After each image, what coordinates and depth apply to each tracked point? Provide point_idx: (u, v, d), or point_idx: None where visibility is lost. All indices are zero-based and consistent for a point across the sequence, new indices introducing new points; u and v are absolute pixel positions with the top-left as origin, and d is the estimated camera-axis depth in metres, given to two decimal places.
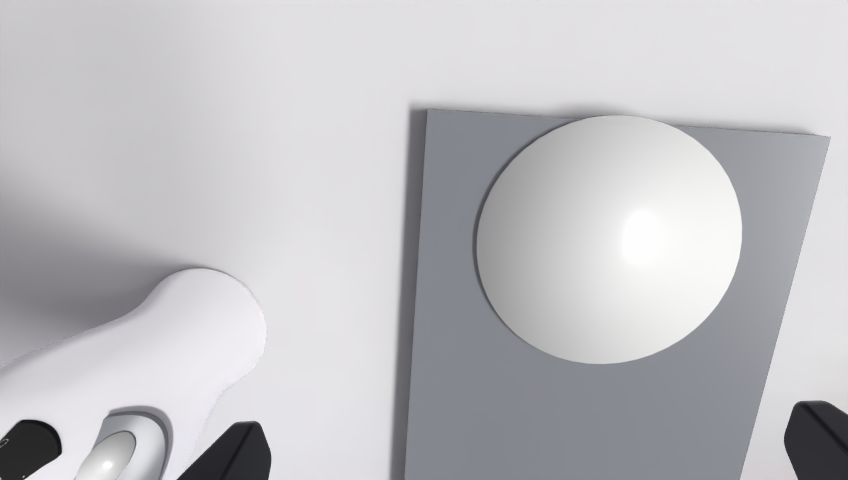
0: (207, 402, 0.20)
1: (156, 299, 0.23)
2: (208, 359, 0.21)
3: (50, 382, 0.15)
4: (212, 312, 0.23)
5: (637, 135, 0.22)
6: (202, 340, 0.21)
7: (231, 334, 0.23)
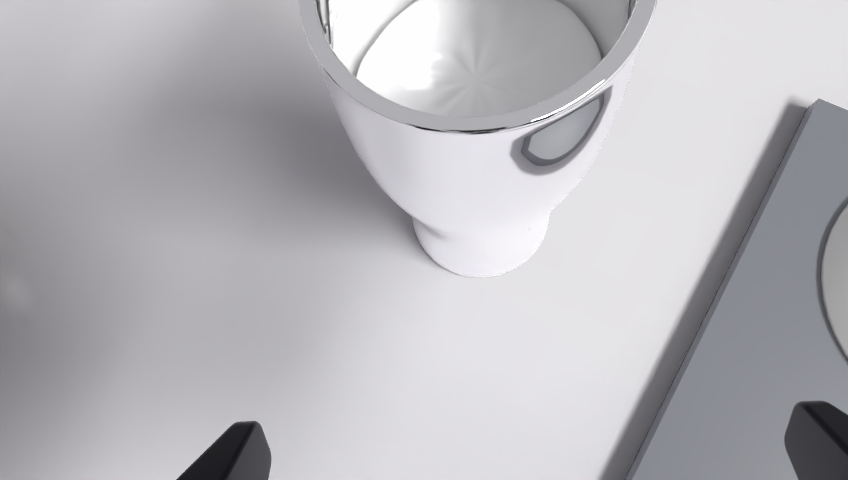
0: None
1: None
2: None
3: None
4: None
5: None
6: None
7: None
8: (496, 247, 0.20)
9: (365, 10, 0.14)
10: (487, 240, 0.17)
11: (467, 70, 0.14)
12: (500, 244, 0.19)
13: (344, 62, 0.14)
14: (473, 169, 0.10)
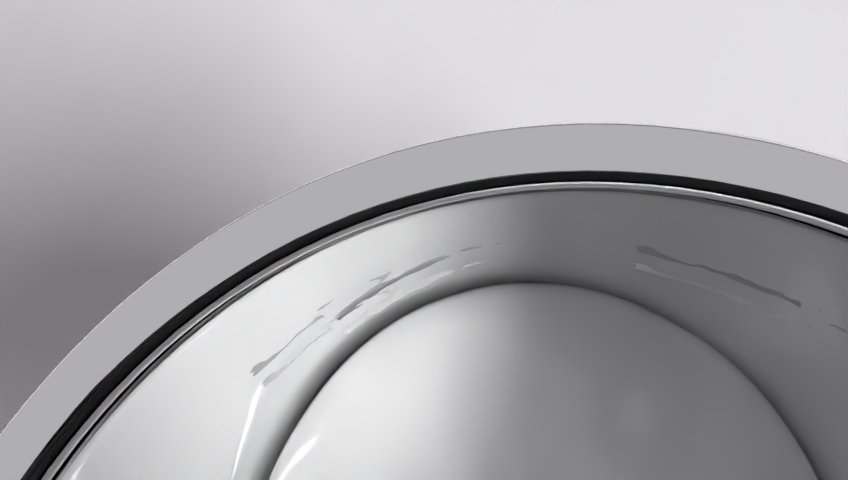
0: None
1: None
2: None
3: None
4: None
5: None
6: None
7: None
8: None
9: (269, 399, 0.06)
10: None
11: None
12: None
13: None
14: None
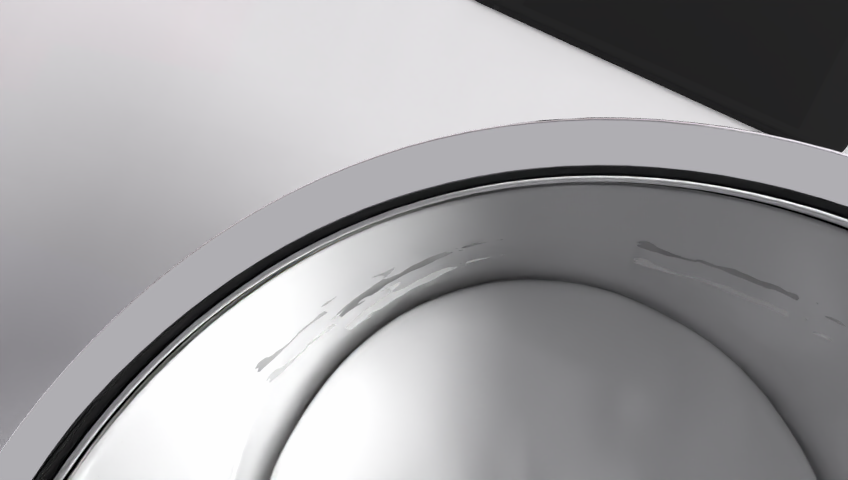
0: None
1: None
2: None
3: None
4: None
5: None
6: None
7: None
8: None
9: (273, 396, 0.06)
10: None
11: None
12: None
13: None
14: None
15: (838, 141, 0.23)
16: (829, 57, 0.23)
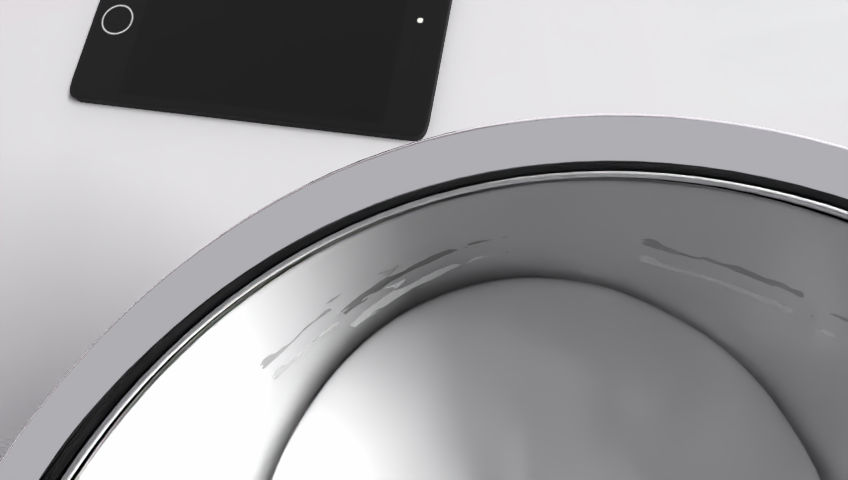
0: None
1: None
2: None
3: None
4: None
5: None
6: None
7: None
8: None
9: (277, 393, 0.06)
10: None
11: None
12: None
13: None
14: None
15: (417, 122, 0.24)
16: (392, 49, 0.25)
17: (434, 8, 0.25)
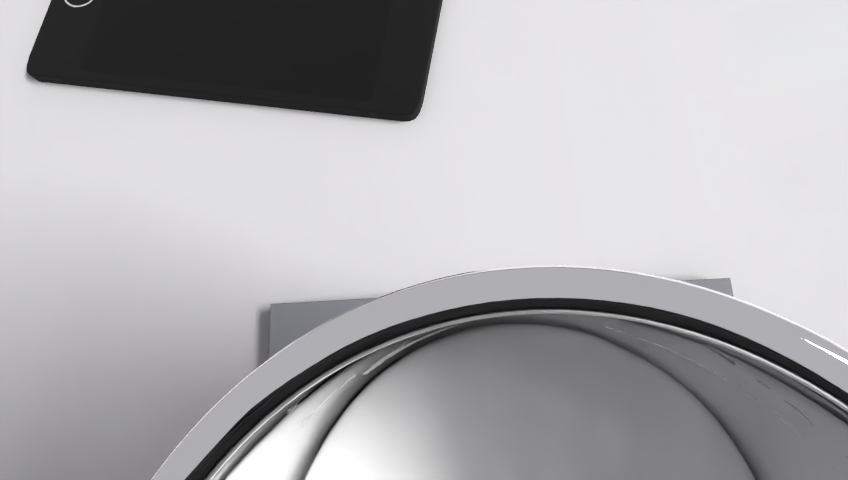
0: None
1: None
2: None
3: None
4: None
5: None
6: None
7: None
8: None
9: (301, 432, 0.07)
10: None
11: None
12: None
13: None
14: None
15: (409, 100, 0.22)
16: (382, 21, 0.23)
17: None
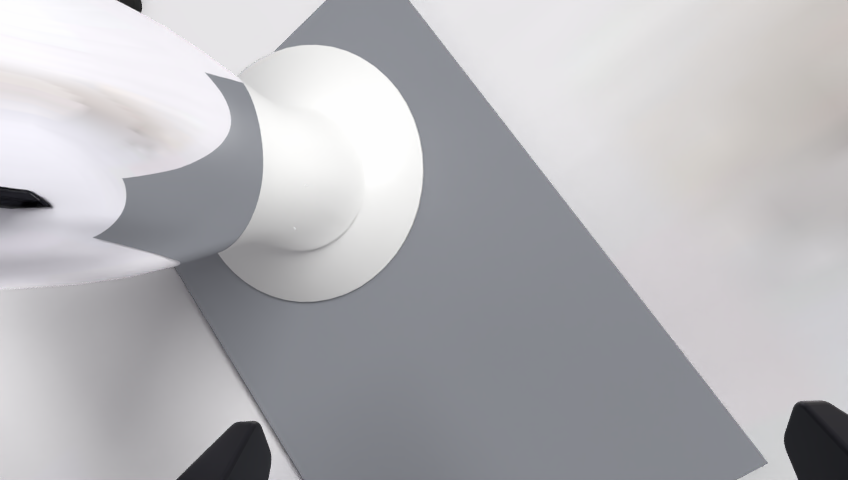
0: (278, 150, 0.16)
1: None
2: (284, 122, 0.17)
3: None
4: (297, 112, 0.20)
5: (251, 82, 0.24)
6: (280, 110, 0.18)
7: (318, 137, 0.20)
8: (292, 220, 0.19)
9: None
10: (238, 238, 0.16)
11: None
12: (288, 217, 0.18)
13: None
14: None
15: (126, 0, 0.27)
16: None
17: None
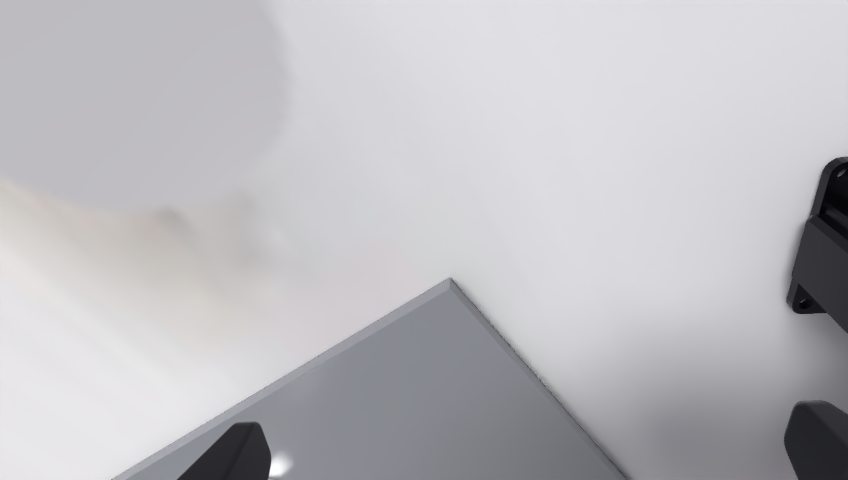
0: None
1: None
2: None
3: None
4: None
5: None
6: None
7: None
8: None
9: None
10: None
11: None
12: None
13: None
14: None
15: None
16: None
17: None
